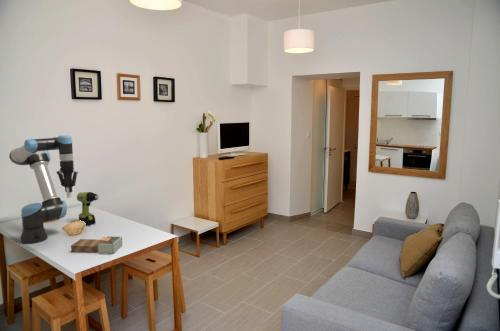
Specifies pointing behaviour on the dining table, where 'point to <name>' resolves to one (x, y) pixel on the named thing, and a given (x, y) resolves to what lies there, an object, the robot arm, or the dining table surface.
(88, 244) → the walnut board
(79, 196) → the cordless drill
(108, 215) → the dining table surface
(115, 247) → the tray
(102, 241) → the peach square block
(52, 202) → the robot arm
